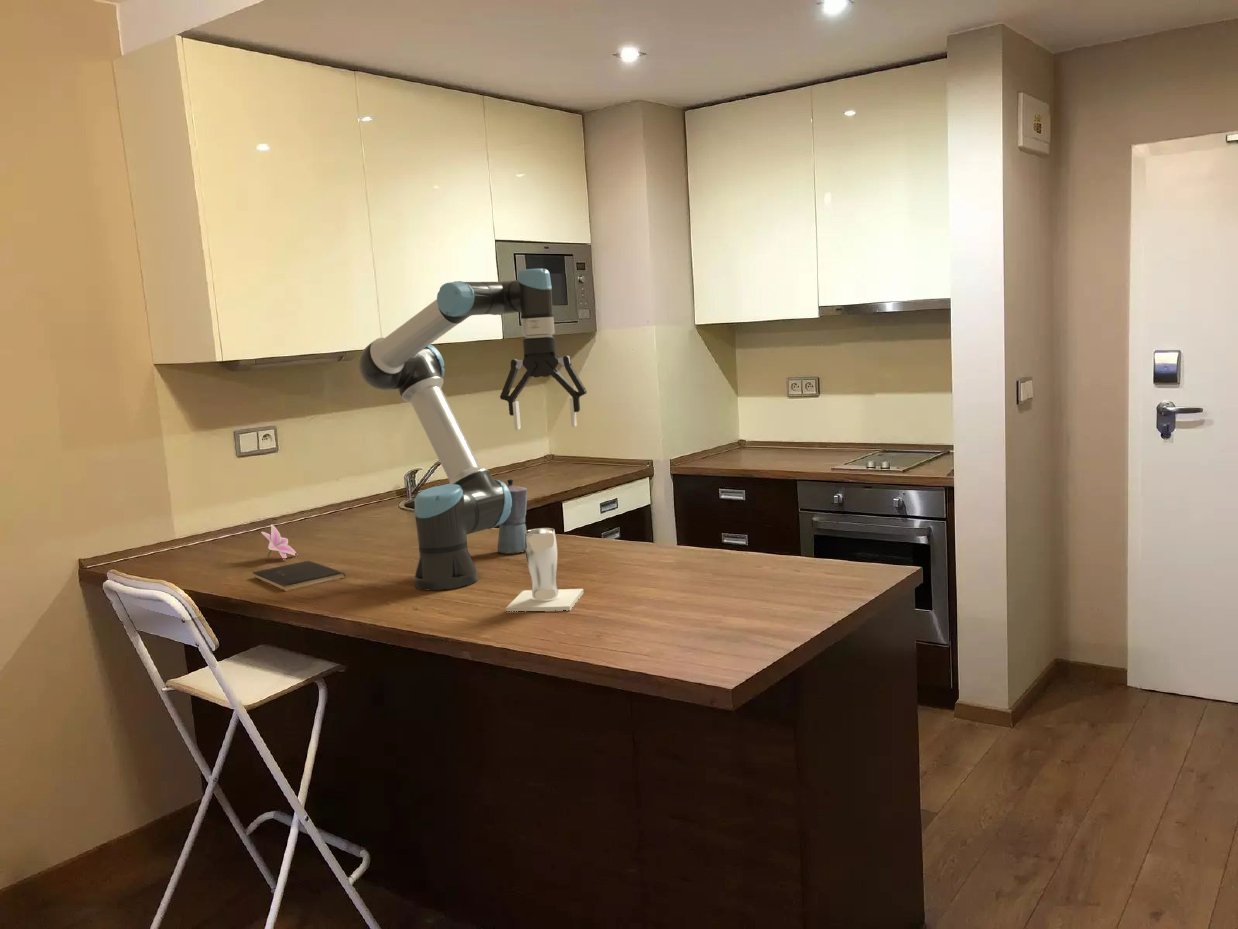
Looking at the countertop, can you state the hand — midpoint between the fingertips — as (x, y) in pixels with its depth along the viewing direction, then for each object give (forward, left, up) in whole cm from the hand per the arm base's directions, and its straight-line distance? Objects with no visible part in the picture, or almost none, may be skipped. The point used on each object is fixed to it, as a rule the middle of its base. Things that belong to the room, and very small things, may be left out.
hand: (545, 427), depth 230 cm
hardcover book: (-72, +10, -37) cm, 82 cm away
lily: (-91, +33, -37) cm, 103 cm away
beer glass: (+2, -20, -36) cm, 41 cm away
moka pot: (-20, +32, -37) cm, 53 cm away
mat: (+2, -20, -37) cm, 42 cm away
